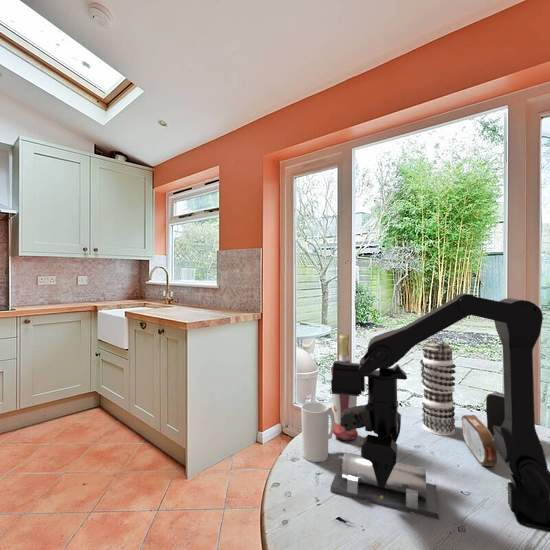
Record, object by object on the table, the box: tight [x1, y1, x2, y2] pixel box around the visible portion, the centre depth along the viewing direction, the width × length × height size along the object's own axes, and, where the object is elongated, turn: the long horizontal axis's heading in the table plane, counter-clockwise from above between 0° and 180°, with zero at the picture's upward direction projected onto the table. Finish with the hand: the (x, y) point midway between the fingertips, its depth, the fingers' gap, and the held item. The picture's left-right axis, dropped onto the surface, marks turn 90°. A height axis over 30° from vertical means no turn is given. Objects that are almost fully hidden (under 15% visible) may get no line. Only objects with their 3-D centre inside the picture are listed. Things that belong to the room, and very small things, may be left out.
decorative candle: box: [419, 340, 456, 437], centre depth 95 cm, size 9×9×25 cm
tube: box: [341, 452, 427, 498], centre depth 67 cm, size 16×5×5 cm, turn 66°
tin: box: [461, 414, 498, 468], centre depth 81 cm, size 15×3×8 cm, turn 168°
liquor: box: [330, 334, 358, 441], centre depth 91 cm, size 7×7×28 cm
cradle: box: [330, 463, 440, 520], centre depth 67 cm, size 20×10×4 cm, turn 66°
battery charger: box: [485, 392, 505, 436], centre depth 90 cm, size 7×4×11 cm, turn 34°
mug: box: [300, 401, 335, 463], centre depth 82 cm, size 10×7×12 cm, turn 125°
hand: (383, 473), depth 67 cm, fingers open, 9 cm apart
